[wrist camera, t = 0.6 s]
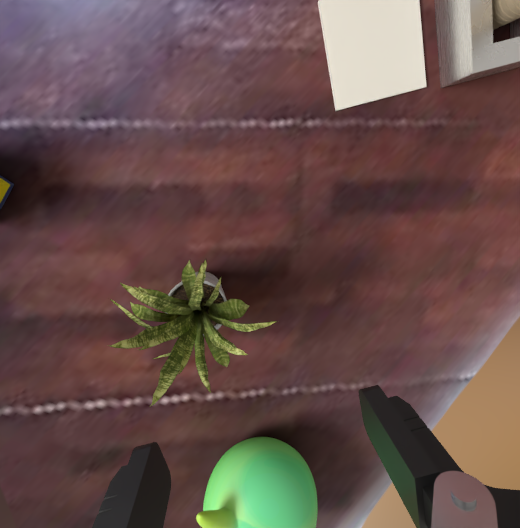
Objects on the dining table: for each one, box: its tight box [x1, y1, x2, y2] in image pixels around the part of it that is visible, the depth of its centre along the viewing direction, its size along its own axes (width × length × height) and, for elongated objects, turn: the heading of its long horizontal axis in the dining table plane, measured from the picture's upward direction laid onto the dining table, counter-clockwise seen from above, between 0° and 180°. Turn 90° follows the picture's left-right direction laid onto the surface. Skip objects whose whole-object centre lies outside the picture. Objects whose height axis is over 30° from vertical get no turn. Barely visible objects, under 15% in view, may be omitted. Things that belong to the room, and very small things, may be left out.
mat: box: [318, 0, 426, 111], centre depth 34 cm, size 11×11×1 cm
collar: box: [435, 0, 520, 88], centre depth 32 cm, size 12×11×5 cm
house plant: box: [109, 260, 275, 407], centre depth 32 cm, size 14×14×16 cm
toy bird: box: [196, 437, 317, 528], centre depth 41 cm, size 18×17×15 cm
